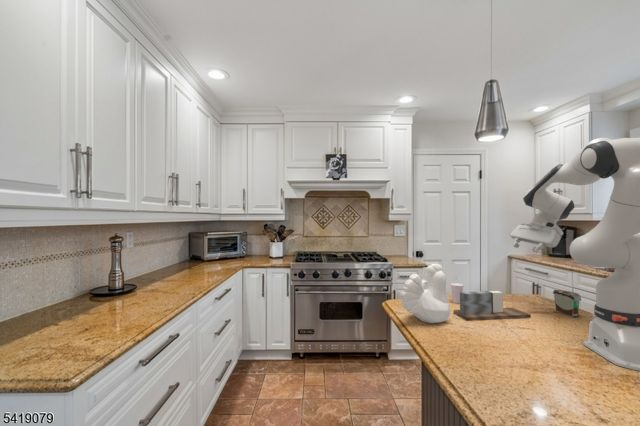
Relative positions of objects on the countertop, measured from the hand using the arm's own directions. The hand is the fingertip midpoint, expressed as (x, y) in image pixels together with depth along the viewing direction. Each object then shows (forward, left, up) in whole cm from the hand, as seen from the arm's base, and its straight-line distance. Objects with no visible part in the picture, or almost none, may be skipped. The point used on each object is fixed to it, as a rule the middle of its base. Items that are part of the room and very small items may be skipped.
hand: (524, 249), depth 132 cm
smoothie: (+7, +29, -31) cm, 43 cm away
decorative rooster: (-27, +44, -31) cm, 60 cm away
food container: (+8, -19, -31) cm, 37 cm away
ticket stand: (-9, +16, -31) cm, 35 cm away
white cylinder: (-7, +13, -29) cm, 32 cm away
